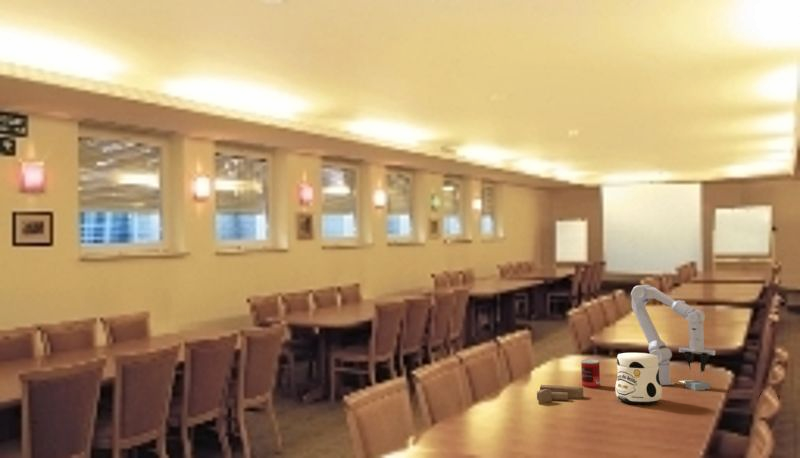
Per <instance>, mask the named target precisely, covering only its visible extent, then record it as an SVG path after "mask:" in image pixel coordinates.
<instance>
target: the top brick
mask: <svg viewBox="0 0 800 458" xmlns="http://www.w3.org/2000/svg"><path fill="white" fill-rule="evenodd" d="M689 370H690V373H689V374H690V376H696V377H702V376H704V371H703V372H702V371H701V361H700V362H699V361H693V362H692V363H690V367H689Z"/></svg>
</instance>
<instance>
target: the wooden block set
mask: <svg viewBox="0 0 800 458" xmlns="http://www.w3.org/2000/svg"><path fill="white" fill-rule="evenodd" d="M583 398H584V387H583V386H569V385H568V386H567V385H556V384H554V385H553V384H540V385H539V390H538V391H536V399H537V400H538V405H543V404H547V403H552V402H553V401H563V402H564V401H565V402H567V401H569V399H576V400H577V399H583Z"/></svg>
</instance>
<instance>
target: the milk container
mask: <svg viewBox="0 0 800 458" xmlns="http://www.w3.org/2000/svg"><path fill="white" fill-rule="evenodd" d="M616 364H617V366H616V369H617V378H616V382H615V387H614V388H615V395H616V397H617V398H618V400H620V401H622V402H625V403H629V404H636V405H638V404H639V405H644V404H645V405H647V404H648V405H649V404H654V403H658V402H659V401H660V400H661V399H662V392H663V389H662V385H661V384H660V381H659V361H658V356H657V355H653V354H650V353H647V352H623V353H618V354H617V357H616Z"/></svg>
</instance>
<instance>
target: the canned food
mask: <svg viewBox="0 0 800 458" xmlns="http://www.w3.org/2000/svg"><path fill="white" fill-rule="evenodd" d="M580 367H581V385H582V386H581V387H583V386H584V387H583V388H587V387H588V388H589V389H596V388H599V387H600V386H601V382H600V381H601V379H600V377H601V375H600V374H601V373H600V372H601V371H600V369H601V368H600V360H598V359H591V358H590V359H589V358H587V359H582V360H581V366H580Z"/></svg>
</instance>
